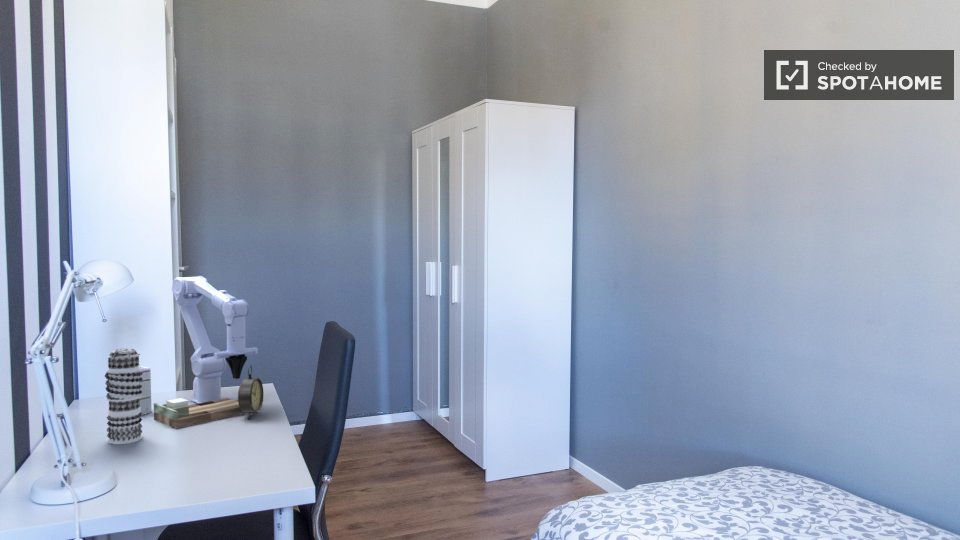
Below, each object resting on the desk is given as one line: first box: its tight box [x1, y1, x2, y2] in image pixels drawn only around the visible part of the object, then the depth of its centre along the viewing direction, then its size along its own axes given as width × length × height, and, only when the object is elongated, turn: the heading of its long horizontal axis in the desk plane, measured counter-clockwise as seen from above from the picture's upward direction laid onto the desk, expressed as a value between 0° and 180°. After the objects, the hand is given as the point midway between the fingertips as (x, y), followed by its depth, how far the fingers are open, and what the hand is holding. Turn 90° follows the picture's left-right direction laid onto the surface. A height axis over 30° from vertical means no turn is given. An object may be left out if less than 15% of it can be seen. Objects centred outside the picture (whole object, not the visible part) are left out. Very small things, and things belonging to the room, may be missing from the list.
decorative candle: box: [104, 348, 143, 445], centre depth 182 cm, size 9×9×25 cm
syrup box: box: [139, 365, 153, 415], centre depth 209 cm, size 6×6×14 cm
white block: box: [165, 397, 189, 409], centre depth 200 cm, size 4×4×4 cm
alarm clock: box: [237, 364, 264, 420], centre depth 207 cm, size 11×5×16 cm, turn 179°
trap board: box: [153, 397, 245, 430], centre depth 207 cm, size 14×24×5 cm, turn 140°
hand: (236, 378), depth 216 cm, fingers closed
